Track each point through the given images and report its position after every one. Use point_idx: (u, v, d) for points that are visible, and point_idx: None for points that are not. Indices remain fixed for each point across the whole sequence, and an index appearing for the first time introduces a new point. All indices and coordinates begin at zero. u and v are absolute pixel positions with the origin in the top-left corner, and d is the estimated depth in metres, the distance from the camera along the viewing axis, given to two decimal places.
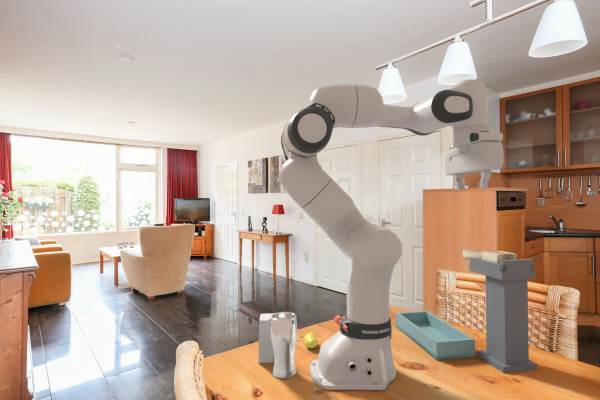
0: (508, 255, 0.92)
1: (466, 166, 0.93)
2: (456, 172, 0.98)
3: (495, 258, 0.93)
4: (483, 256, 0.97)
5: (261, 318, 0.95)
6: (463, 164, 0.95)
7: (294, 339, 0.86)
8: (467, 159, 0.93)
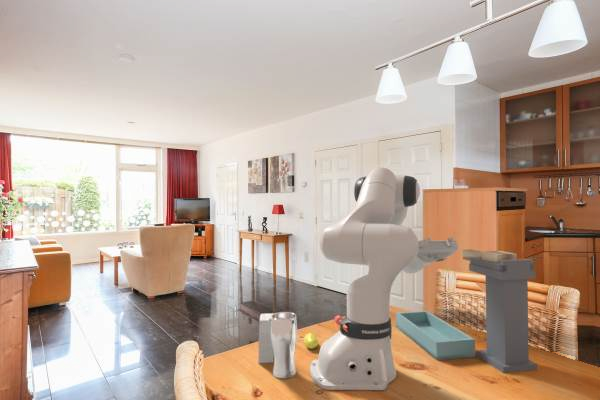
0: (508, 255, 0.92)
1: None
2: None
3: (495, 258, 0.93)
4: (483, 256, 0.97)
5: (261, 318, 0.95)
6: None
7: (294, 339, 0.86)
8: None
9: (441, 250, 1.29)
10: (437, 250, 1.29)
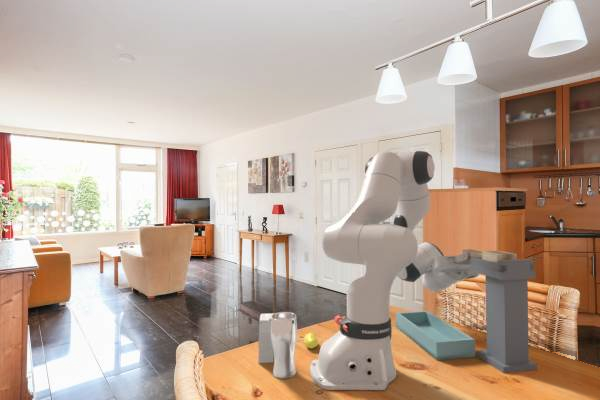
0: (508, 255, 0.92)
1: None
2: None
3: (495, 258, 0.92)
4: (483, 256, 0.97)
5: (261, 318, 0.95)
6: None
7: (294, 339, 0.86)
8: None
9: None
10: None
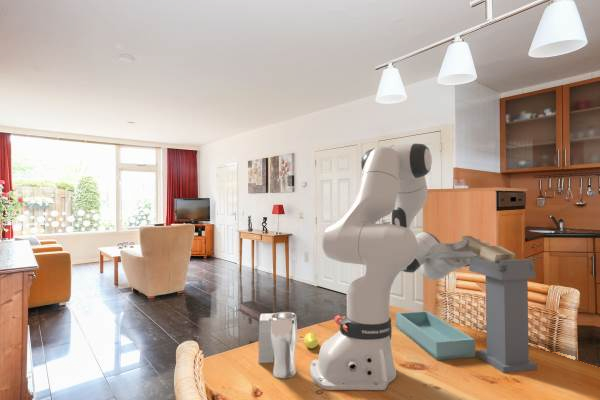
0: (507, 255, 0.93)
1: None
2: (451, 243, 1.11)
3: (493, 258, 0.93)
4: (481, 251, 0.98)
5: (261, 318, 0.95)
6: None
7: (294, 339, 0.86)
8: None
9: (472, 254, 1.11)
10: (468, 254, 1.11)
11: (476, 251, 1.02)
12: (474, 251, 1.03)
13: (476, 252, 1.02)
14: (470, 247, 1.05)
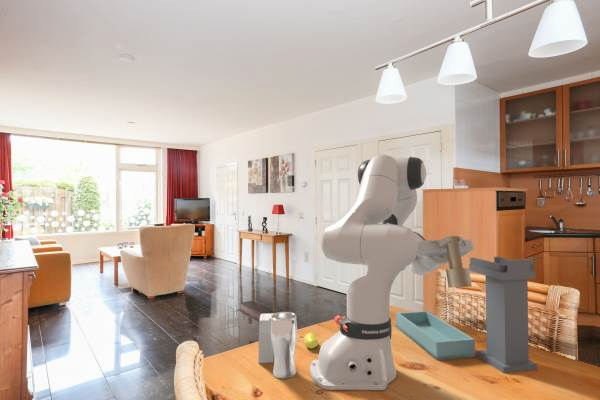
0: (464, 286, 1.11)
1: None
2: (435, 240, 1.20)
3: (452, 285, 1.12)
4: (450, 270, 1.13)
5: (261, 318, 0.95)
6: None
7: (294, 339, 0.86)
8: None
9: None
10: None
11: (449, 259, 1.16)
12: (448, 256, 1.17)
13: (449, 259, 1.16)
14: (448, 250, 1.17)
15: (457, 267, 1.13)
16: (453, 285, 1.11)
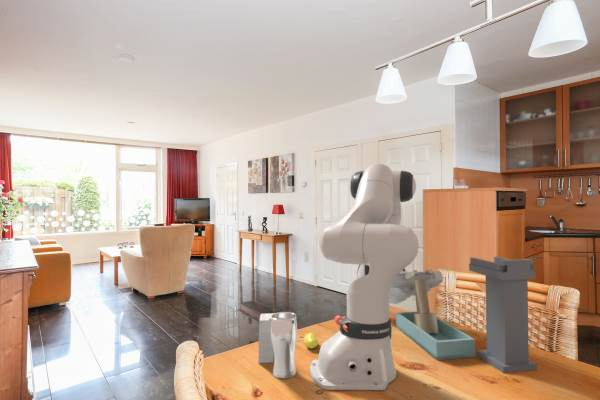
0: None
1: None
2: (404, 272, 1.18)
3: None
4: (417, 316, 1.11)
5: (261, 318, 0.95)
6: None
7: (294, 339, 0.86)
8: None
9: None
10: None
11: (417, 302, 1.14)
12: (416, 300, 1.15)
13: (416, 303, 1.14)
14: (416, 294, 1.15)
15: (424, 312, 1.12)
16: None
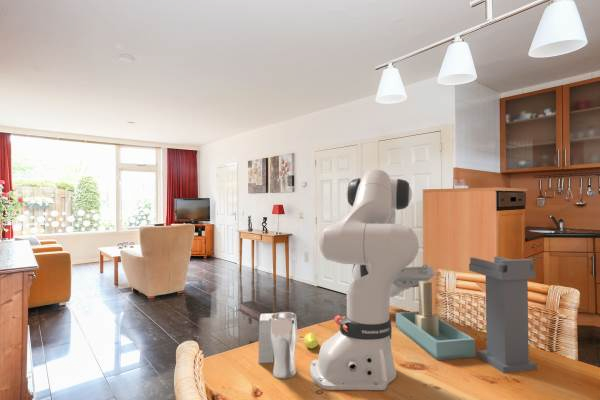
0: None
1: None
2: None
3: None
4: (419, 318, 1.10)
5: (261, 318, 0.95)
6: None
7: (294, 339, 0.86)
8: None
9: (416, 277, 1.25)
10: (412, 277, 1.24)
11: (420, 304, 1.12)
12: (419, 301, 1.13)
13: (419, 304, 1.12)
14: (420, 295, 1.12)
15: (426, 315, 1.10)
16: None
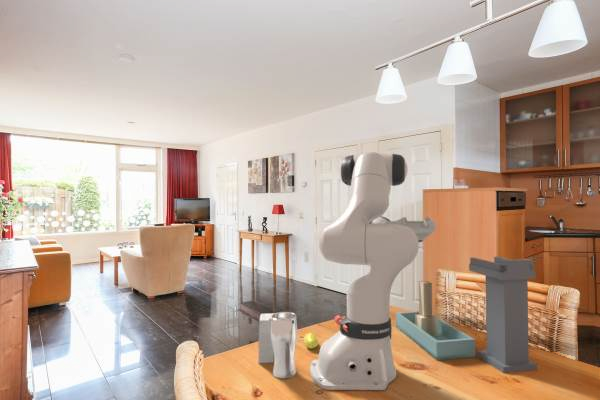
0: None
1: None
2: None
3: None
4: (419, 318, 1.10)
5: (261, 318, 0.95)
6: None
7: (294, 339, 0.86)
8: None
9: (418, 230, 1.28)
10: (414, 230, 1.28)
11: (420, 304, 1.12)
12: (419, 301, 1.12)
13: (419, 304, 1.12)
14: (420, 295, 1.12)
15: (426, 315, 1.10)
16: None
